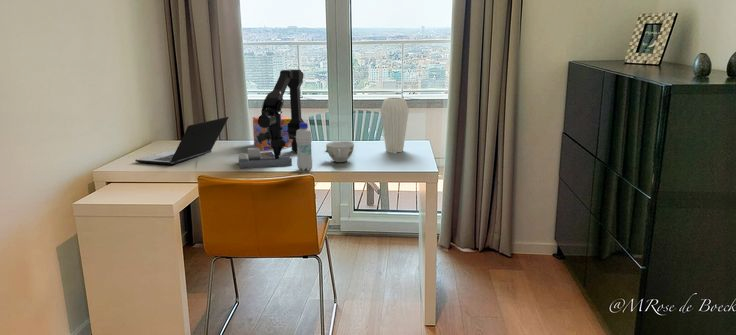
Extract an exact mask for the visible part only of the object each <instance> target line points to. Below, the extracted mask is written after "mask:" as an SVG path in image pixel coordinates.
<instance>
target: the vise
mask: <svg viewBox="0 0 736 335" xmlns="http://www.w3.org/2000/svg"><path fill="white" fill-rule="evenodd" d="M237 158H238V165H239V169H256V168H258V169H260V168H271V167H287V166H289V167H290V166H293V161H292V160H293V159H292V157H290V156H279V158H278V159H269V160H254V161H248V153H238V154H237Z"/></svg>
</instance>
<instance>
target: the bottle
mask: <svg viewBox="0 0 736 335" xmlns="http://www.w3.org/2000/svg"><path fill="white" fill-rule="evenodd" d="M308 127H309V125H308V123H307V122H304V123H300V129H299V130H297V131H296V142H297V152H296V154H297V159H296V160H297V161H296V162H297V163H296V165H297V169H298V170H299V171H302V172H305V171H307V172H308V171H310V170H312V168H313V159H312V158H313V156H312V141H313V139H312V138H313V137H312V136H313V135H312V131H311V129H309V128H308ZM305 169H306V170H305Z"/></svg>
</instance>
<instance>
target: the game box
mask: <svg viewBox="0 0 736 335" xmlns="http://www.w3.org/2000/svg"><path fill="white" fill-rule="evenodd" d="M258 118H259V116H254V117H252V130H253V131H252V132H253V146H255V147H256V148H259V149H260V150H263V151H270V150H273V149H272V147H270V145H269V144H268V143H270V140H269V141H267V140H264V141H262V142H261V143H259V142H258V140H257V138H256V135H257V134H259V133H261V132H264V131H266V130H267V128H262V127H260V126H259V124H258ZM290 120H291V117H287V116H284V115H281V127H282V136H283V140H284V141H285V145H286V146H283V148H282V149H285V148H284V147H287V148H291V147H290V146H291V142H292V139H289V135H288V123H289V122H290Z"/></svg>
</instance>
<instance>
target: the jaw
mask: <svg viewBox="0 0 736 335" xmlns="http://www.w3.org/2000/svg"><path fill="white" fill-rule="evenodd" d="M269 159H275V156H274V152H273V151H270V152H269V151H267V152H260V160H269Z"/></svg>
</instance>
